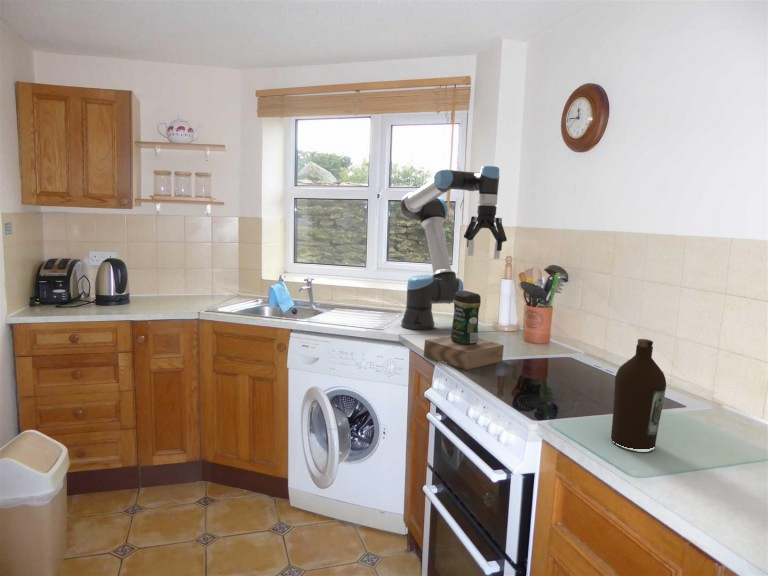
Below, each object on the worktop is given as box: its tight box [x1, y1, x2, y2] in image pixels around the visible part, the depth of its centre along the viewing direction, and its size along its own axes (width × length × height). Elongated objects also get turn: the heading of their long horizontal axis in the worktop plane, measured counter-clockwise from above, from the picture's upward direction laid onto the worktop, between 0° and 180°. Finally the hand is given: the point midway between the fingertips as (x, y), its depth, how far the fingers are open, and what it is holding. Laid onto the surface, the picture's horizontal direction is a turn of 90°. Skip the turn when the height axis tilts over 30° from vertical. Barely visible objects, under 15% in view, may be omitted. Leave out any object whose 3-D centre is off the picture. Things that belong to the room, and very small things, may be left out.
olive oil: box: [610, 338, 667, 449], centre depth 123 cm, size 11×11×25 cm
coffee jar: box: [451, 290, 482, 345], centre depth 190 cm, size 10×8×19 cm
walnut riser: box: [423, 335, 504, 371], centre depth 191 cm, size 20×20×6 cm
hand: (483, 257), depth 219 cm, fingers open, 13 cm apart
